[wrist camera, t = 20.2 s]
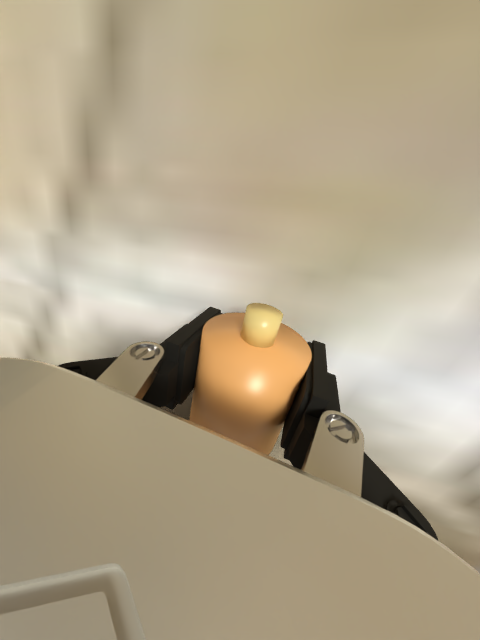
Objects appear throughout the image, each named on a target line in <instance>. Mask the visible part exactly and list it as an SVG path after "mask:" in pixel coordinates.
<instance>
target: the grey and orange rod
mask: <svg viewBox="0 0 480 640" xmlns="http://www.w3.org/2000/svg"><path fill="white" fill-rule="evenodd" d="M282 318H283V314H282V312H281V311H279V310H278V309H276V308H274V307H272V306H269V305H266V304H261V303H252V304H249V305H248V306H247V308H246V313H225V314H221V315H217V316H215V317H213V318H211V319H210V320H208V321H207V322H206V323H205V325H204V327H203V330H202V337H201V344H200V351H199V358H198V364H197V371H196V378H195V385H194V392H193V398H192V405H191V412H190V420H189V421H191V422H193V423H196V424H198V425H200V426H203V427H205V428H207V429H209V430H212V431H214V432H216V433H219V434H221V435H223V436H225V437H228V438H230V439H232V440H235V441H237V442H239V443H241V444H244V445H246V446H248V447H250V448H253V449H255V450H257V451H259V452H262V453H264V454H266V455H269V454H270V452H271V451H272V450H273V447H274V445H275V443H276V441H277V438H278V436H279V434H280V431H281V429H282V427H283V424H284V422H285V419H286V417H287V415H288V412H289V410H290V408H291V405H292V403H293V401H294V398H295V396H296V394H297V391H298V389H299V387H300V384H301V382H302V380H303V377H304V375H305V373H306V370H307V368H308V366H309V364H310V361H311V358H312V353H311V349H310V347H309V345H308V344H307V342H306V341H305V340H304V339H303V337H302V336H300V335H299V334H298V333H297V332H296V331H294V330H293V329H291V328H290V327H288V326H286V325H284V324H282V323H281V321H282Z"/></svg>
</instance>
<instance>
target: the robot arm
mask: <svg viewBox="0 0 480 640" xmlns="http://www.w3.org/2000/svg"><path fill="white" fill-rule="evenodd" d="M221 314H222V313H221V310H219V309H216V308H213V307H209V308H208V309H207V310H205V311H204V312H203V313H202V314H200V315H199V316H198V317H196V318H195V319H194V320H193V321H191V322H190V323H189V324H186V325H184V326H183V327H182V328H180V329H179V330H178V331H176V332H175V333H174V334H173V335H171V336H170V337H169V338H167V339H166V340H165V341H164V342H162V343H161V344H160V345H159V344H157V343H154V342H148V341H146V342H138V343H135V344H132V345H131V346H129V347H128V348H127V349H126V350H125V351H124V352H123V353H122V354H121V355H120V356H119V357H113V358H104V359H95V360H87V361H78V362H70V363H65V364H61V365H58V366H55V365H52V364H48V363H45V362H40V361H35V360H29V359H20V358H0V640H480V573H479V572H477V571H476V570H475V569H474V568H473V567H472V566H470V565H469V564H468V563H467V562H465V561H464V560H463V559H462V558H460V557H459V556H458V555H456V554H455V553H454V552H453V551H452V550H450V549H449V548H448V547H446V546H445V545H443V544H442V543H440V542H439V541H438V538H437V536H436V533H435V532H434V530H433V528H432V527H431V525H430V523H429V522H428V521H427V520H426V518H425V517H424V516H423V515H422V513H421V512H420V511H419V510H418V509H417V508H416V507H415V506H414V505H413V504H412V503H411V502H410V501H409V500H408V498H407V497H406V496H405V495H404V494H403V493H402V492H401V491H400V490H399V489H398V488H397V487H396V486H395V485H394V483H393V482H392V481H391V480H390V479H389V478H388V477H387V476H386V475H385V474H384V473H383V472H382V471H381V470H380V469H379V467H378V466H377V465H376V464H375V463H374V462H373V461H372V460H371V459H370V458H369V457H368V456H367V455H366V454H365V452H364V435H363V433H362V431H361V429H360V428H359V426H358V425H357V424H356V423H355V422H354V421H353V420H352V419H351V418H349V417H348V416H346V415H345V414H343V413H341V412H340V404H339V397H338V389H337V382H336V376H335V375H333V374H330V373H327V361H326V348H325V344H323V343H320V342H317V341H314V340H313V342H312V343H311V342H308V343H307V344H308V345H309V347H310V349H311V353H312V358H311V361H310V364H309V366H308V368H307V370H306V373H305V375H304V377H303V380H302V382H301V384H300V387H299V389H298V391H297V394H296V396H295V398H294V401H293V403H292V405H291V408H290V410H289V412H288V415H287V417H286V419H285V422H284V427H283V433H282V439H281V447H282V448H284V449H285V451H284V458H285V459H288V460H290V462H291V463H292V465H293V466H294V467H293V466H291V465H289V464H286V463H284V462H282V461H280V460H277V459H275V458H273V457H271V456H268V455H266V454H264V453H262V452H259V451H257V450H255V449H253V448H250V447H248V446H246V445H244V444H241V443H239V442H237V441H235V440H232V439H230V438H228V437H225V436H223V435H221V434H219V433H216V432H214V431H212V430H209V429H207V428H205V427H203V426H200V425H198V424H196V423H193V422H191V421H189V420H187V419H184V418H182V417H180V416H177V415H175V414H173V413H170V412H168V411H166V410H164V409H161V407H163V406H165V407H168V408H170V409H172V410H173V409H174V408H175V407H176V405H177V404H182V403H183V402H184V400H185V399H186V398H187V396H188V395H189V394H190V392H191V391H192V390H193V388H194V385H195V378H196V371H197V364H198V358H199V351H200V344H201V337H202V330H203V327H204V325H205V323H206V322H207V321H208V320H210V319H211V318H213V317H215V316H217V315H221Z"/></svg>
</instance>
